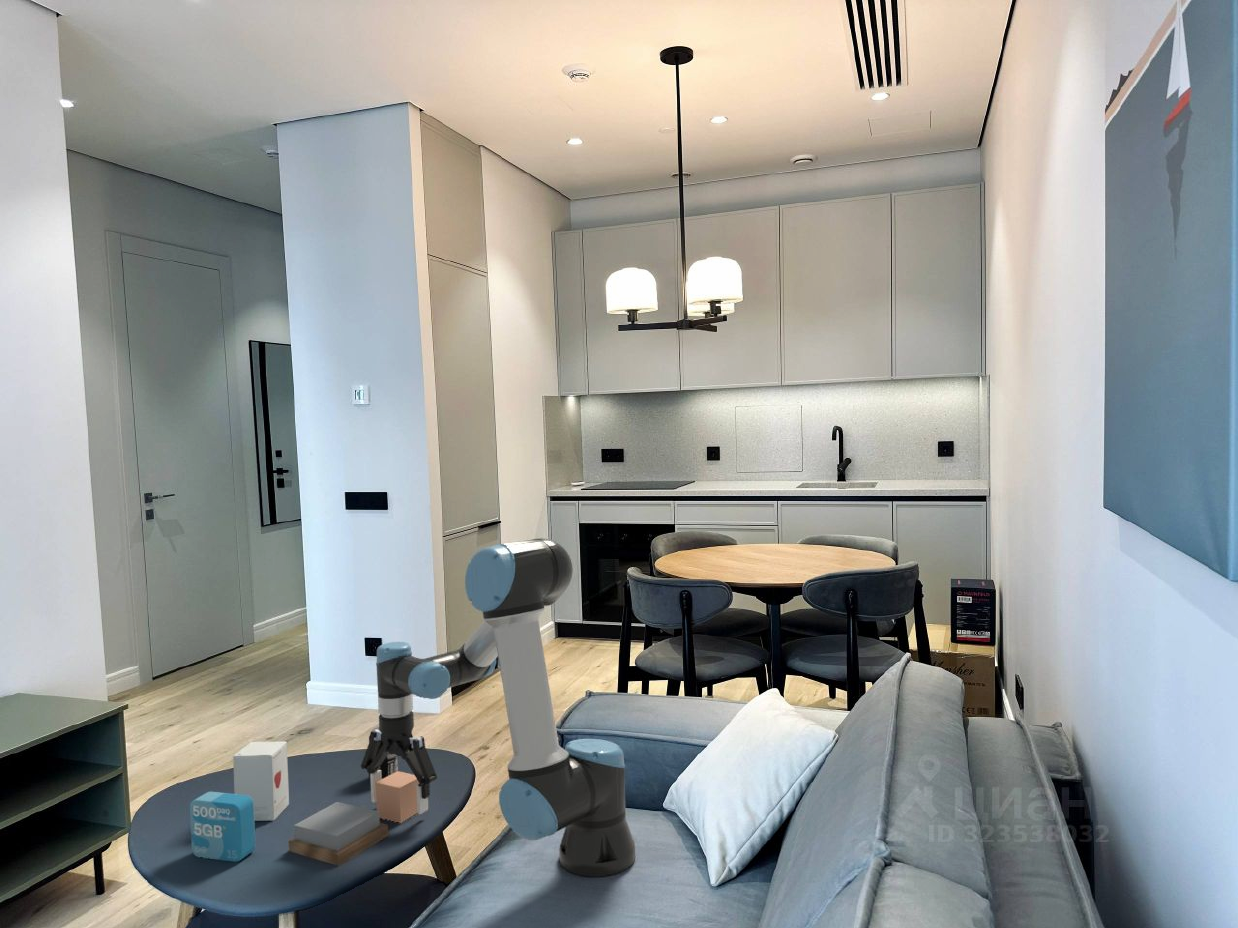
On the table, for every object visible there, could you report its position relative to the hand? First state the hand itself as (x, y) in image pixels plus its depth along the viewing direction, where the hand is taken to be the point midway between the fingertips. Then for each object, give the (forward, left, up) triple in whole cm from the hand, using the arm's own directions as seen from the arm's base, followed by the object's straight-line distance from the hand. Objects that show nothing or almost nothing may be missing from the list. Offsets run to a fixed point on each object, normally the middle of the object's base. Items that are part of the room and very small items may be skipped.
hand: (399, 805), depth 196 cm
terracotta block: (0, 0, -2) cm, 2 cm away
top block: (+2, +16, 0) cm, 16 cm away
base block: (+2, +16, -2) cm, 16 cm away
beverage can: (+18, -14, -2) cm, 23 cm away
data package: (+20, +30, -2) cm, 36 cm away
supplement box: (+29, +13, -2) cm, 32 cm away
